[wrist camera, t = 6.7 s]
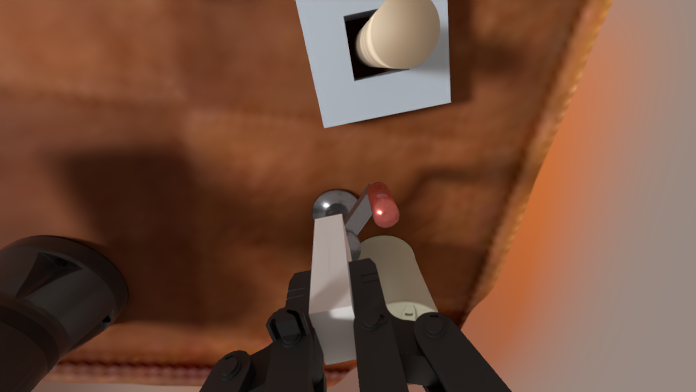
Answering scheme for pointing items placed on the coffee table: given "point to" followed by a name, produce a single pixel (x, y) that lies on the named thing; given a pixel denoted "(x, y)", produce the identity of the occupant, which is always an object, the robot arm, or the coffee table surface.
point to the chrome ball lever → (370, 214)
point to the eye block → (374, 90)
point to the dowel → (398, 35)
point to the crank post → (333, 203)
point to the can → (398, 277)
